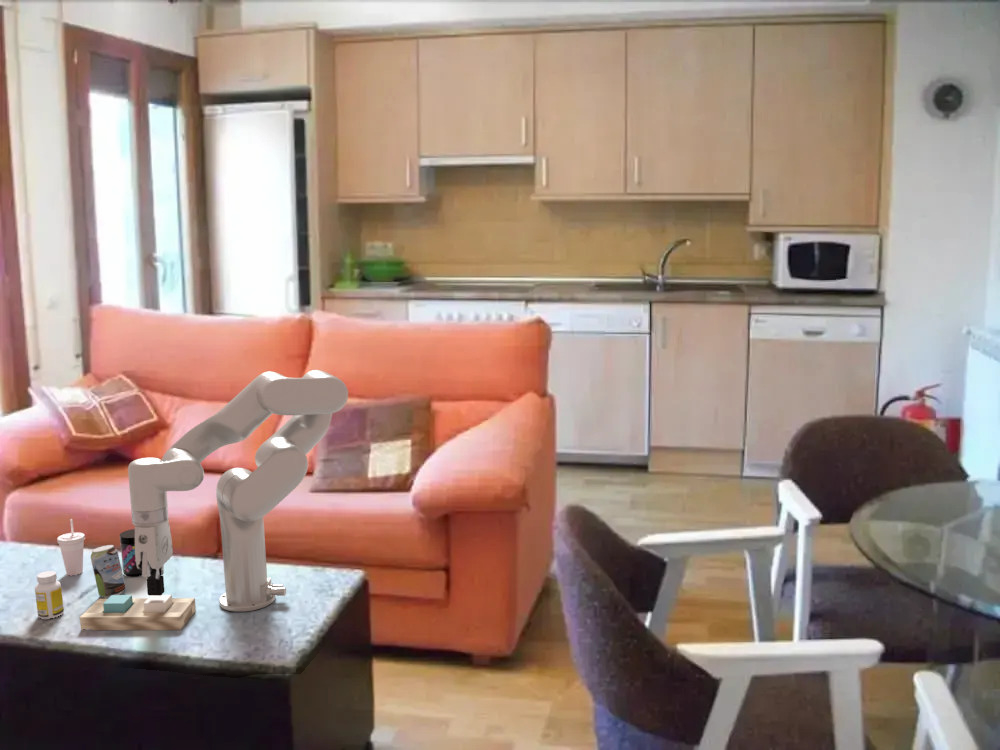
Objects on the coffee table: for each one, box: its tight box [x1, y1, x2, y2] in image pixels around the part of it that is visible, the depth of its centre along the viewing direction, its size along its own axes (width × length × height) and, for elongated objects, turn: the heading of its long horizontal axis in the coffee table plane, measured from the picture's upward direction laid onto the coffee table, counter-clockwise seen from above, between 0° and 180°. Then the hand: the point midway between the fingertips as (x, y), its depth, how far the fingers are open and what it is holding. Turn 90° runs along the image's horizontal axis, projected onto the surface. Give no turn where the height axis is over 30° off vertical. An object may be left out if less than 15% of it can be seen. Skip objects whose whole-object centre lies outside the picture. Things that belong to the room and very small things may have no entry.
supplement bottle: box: [34, 570, 65, 620], centre depth 224 cm, size 5×5×10 cm
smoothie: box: [56, 518, 86, 577], centre depth 248 cm, size 6×6×14 cm
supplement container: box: [119, 528, 142, 578], centre depth 248 cm, size 7×7×10 cm
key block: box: [79, 597, 197, 631], centre depth 221 cm, size 22×10×3 cm, turn 88°
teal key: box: [103, 594, 133, 613], centre depth 221 cm, size 5×5×3 cm
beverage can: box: [90, 544, 126, 599], centre depth 234 cm, size 6×7×12 cm
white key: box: [144, 594, 173, 613], centre depth 220 cm, size 5×5×3 cm
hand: (156, 593), depth 220 cm, fingers closed
